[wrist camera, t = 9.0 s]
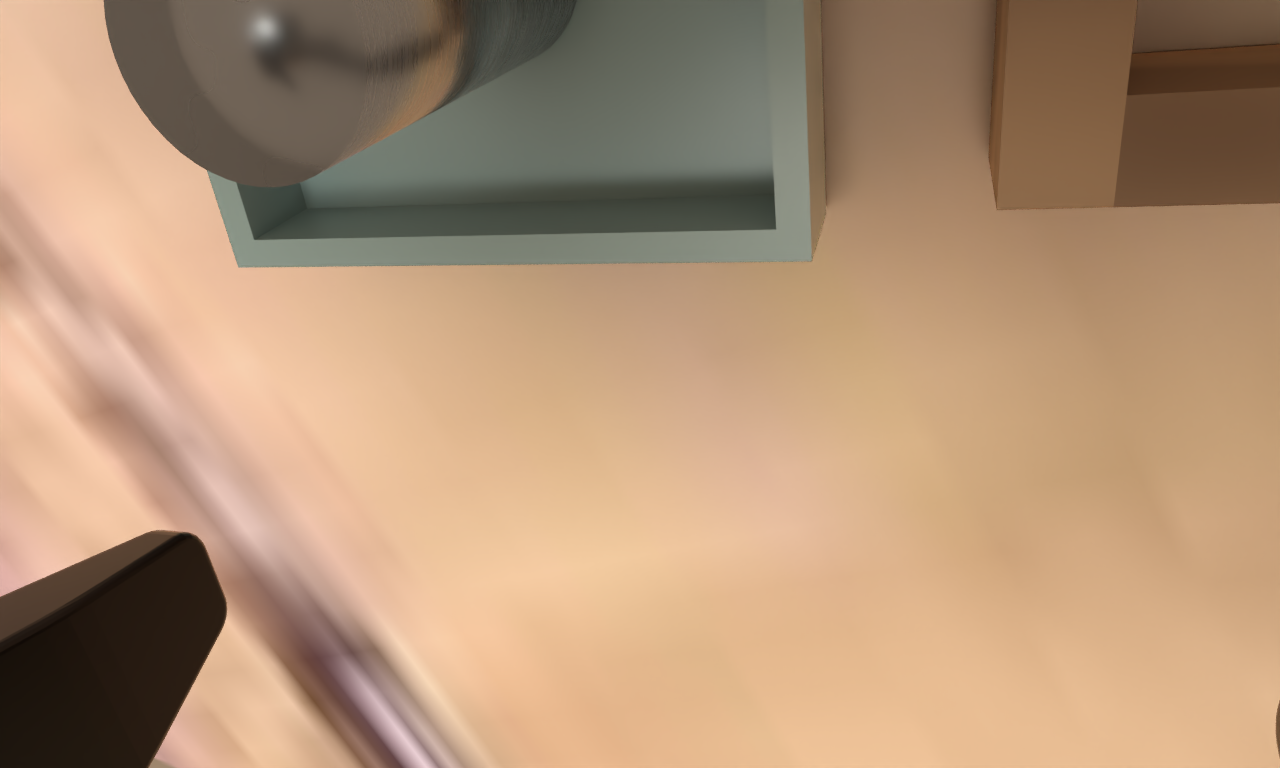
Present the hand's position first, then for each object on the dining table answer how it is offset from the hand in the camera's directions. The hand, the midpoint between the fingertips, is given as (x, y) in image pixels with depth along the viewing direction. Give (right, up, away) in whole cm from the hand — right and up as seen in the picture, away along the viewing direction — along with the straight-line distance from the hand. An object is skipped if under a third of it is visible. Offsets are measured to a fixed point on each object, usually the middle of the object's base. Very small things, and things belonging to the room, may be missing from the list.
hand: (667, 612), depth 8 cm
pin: (-3, +10, +10) cm, 14 cm away
